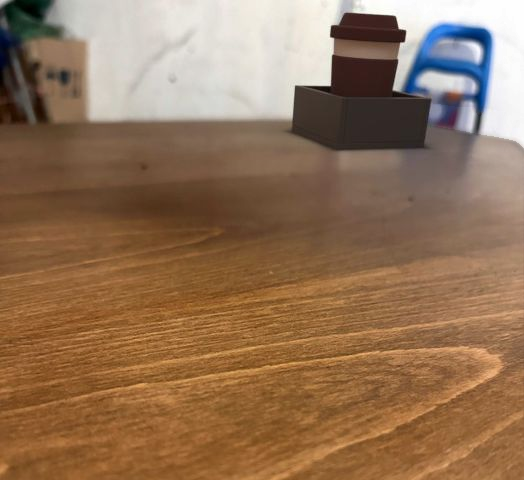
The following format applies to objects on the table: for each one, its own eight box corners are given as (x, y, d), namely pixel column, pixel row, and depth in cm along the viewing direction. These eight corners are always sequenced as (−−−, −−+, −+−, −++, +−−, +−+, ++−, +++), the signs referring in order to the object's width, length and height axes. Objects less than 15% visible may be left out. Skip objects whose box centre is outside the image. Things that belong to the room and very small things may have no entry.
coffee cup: (307, 131, 92) (318, 10, 85) (342, 125, 100) (354, 12, 93) (372, 142, 87) (388, 14, 81) (403, 134, 95) (420, 17, 88)
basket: (371, 131, 102) (376, 86, 99) (423, 148, 91) (431, 98, 88) (291, 133, 97) (294, 85, 94) (336, 151, 86) (342, 98, 83)
